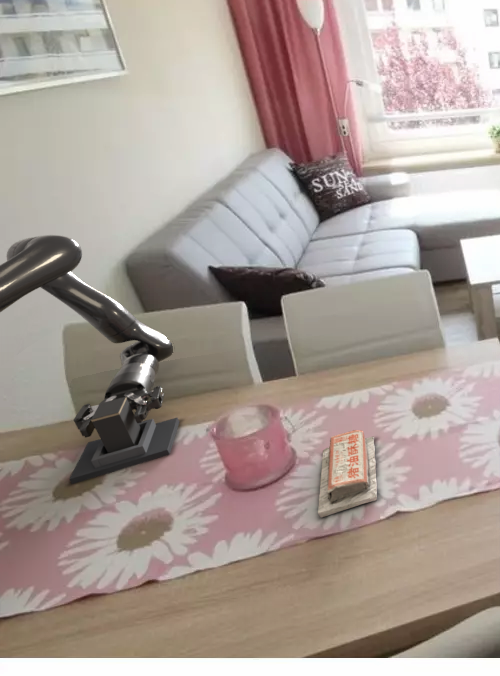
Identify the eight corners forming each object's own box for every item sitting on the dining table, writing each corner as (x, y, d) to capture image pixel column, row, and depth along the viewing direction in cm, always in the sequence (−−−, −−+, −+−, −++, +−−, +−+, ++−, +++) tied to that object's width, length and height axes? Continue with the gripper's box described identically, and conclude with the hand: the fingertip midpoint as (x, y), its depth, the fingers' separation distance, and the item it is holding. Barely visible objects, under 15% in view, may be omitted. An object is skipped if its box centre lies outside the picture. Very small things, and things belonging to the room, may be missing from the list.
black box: (110, 458, 111) (90, 419, 107) (118, 440, 116) (99, 403, 112) (136, 450, 113) (118, 412, 109) (143, 433, 117) (126, 396, 114)
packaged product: (318, 436, 110) (370, 422, 113) (324, 454, 111) (374, 440, 115) (312, 500, 94) (373, 481, 98) (319, 520, 96) (378, 501, 100)
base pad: (72, 484, 106) (64, 471, 105) (90, 447, 116) (84, 435, 115) (169, 455, 113) (164, 442, 112) (179, 422, 123) (174, 410, 121)
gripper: (85, 381, 119) (59, 424, 105) (163, 362, 125) (148, 400, 111) (99, 408, 122) (75, 453, 108) (175, 389, 128) (161, 429, 114)
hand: (112, 426), depth 110 cm, fingers open, 8 cm apart
